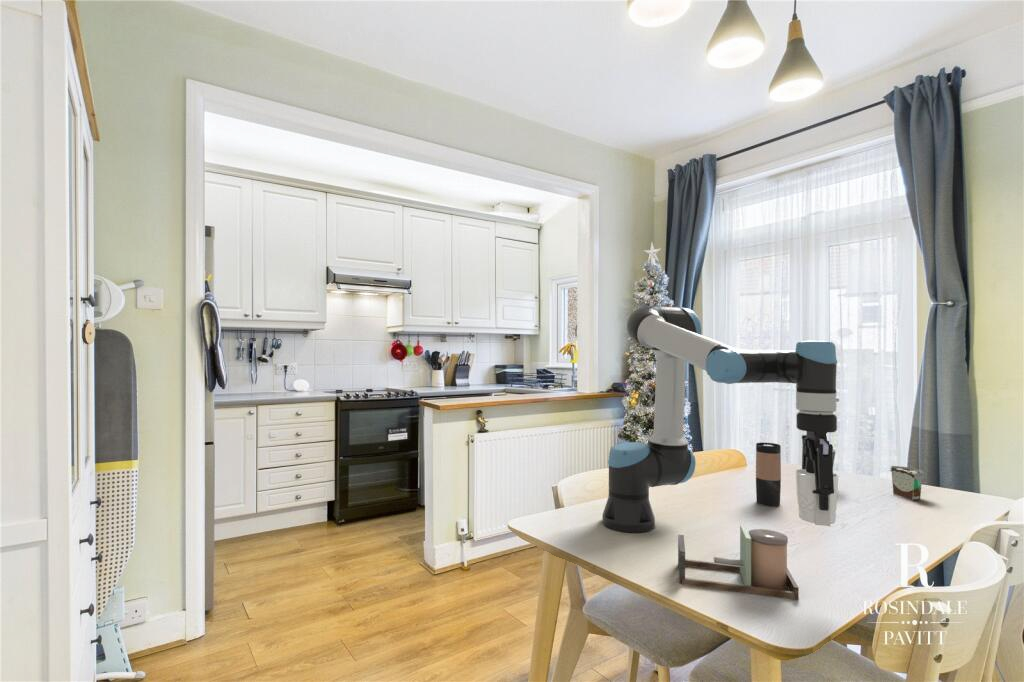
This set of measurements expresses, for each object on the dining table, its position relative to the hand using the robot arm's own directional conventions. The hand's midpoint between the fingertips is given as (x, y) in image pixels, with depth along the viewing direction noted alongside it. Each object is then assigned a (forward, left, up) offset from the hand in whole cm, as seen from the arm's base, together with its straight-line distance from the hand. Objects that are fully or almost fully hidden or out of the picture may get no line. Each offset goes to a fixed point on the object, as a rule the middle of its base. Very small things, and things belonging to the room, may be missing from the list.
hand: (816, 518), depth 111 cm
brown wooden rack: (-17, 0, -15) cm, 23 cm away
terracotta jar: (-10, 0, -15) cm, 18 cm away
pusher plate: (-17, 0, -15) cm, 23 cm away
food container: (+53, +93, -16) cm, 108 cm away
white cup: (0, 0, 0) cm, 0 cm away
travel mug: (+2, +68, -16) cm, 70 cm away
